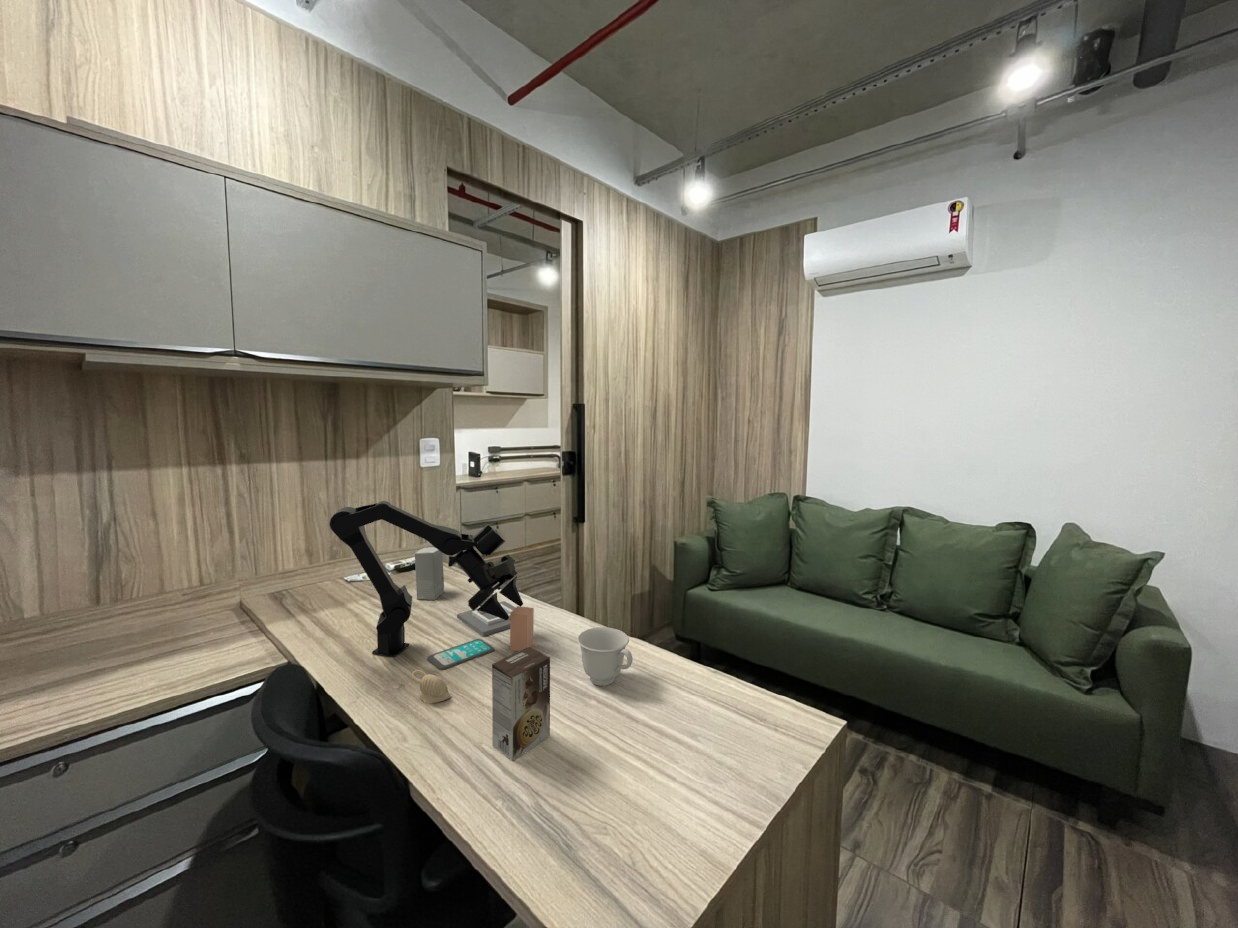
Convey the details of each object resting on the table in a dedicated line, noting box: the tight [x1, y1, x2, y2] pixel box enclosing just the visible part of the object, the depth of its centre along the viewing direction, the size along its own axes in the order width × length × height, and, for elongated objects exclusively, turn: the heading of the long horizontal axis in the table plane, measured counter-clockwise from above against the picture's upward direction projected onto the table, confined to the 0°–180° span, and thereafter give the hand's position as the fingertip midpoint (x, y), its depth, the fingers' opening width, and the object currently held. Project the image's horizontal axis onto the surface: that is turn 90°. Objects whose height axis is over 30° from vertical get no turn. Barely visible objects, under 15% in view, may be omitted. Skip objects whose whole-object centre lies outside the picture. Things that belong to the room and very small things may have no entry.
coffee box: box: [491, 646, 551, 762], centre depth 90 cm, size 9×6×16 cm
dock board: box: [456, 600, 517, 637], centre depth 144 cm, size 16×16×2 cm
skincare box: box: [414, 546, 445, 601], centre depth 161 cm, size 8×7×16 cm
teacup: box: [577, 626, 634, 686], centre depth 112 cm, size 12×15×10 cm
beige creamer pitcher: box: [411, 669, 453, 705], centre depth 104 cm, size 4×8×5 cm, turn 65°
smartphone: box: [426, 638, 495, 671], centre depth 123 cm, size 9×1×15 cm
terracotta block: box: [509, 605, 535, 652], centre depth 127 cm, size 5×5×10 cm
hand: (515, 611), depth 127 cm, fingers open, 9 cm apart
